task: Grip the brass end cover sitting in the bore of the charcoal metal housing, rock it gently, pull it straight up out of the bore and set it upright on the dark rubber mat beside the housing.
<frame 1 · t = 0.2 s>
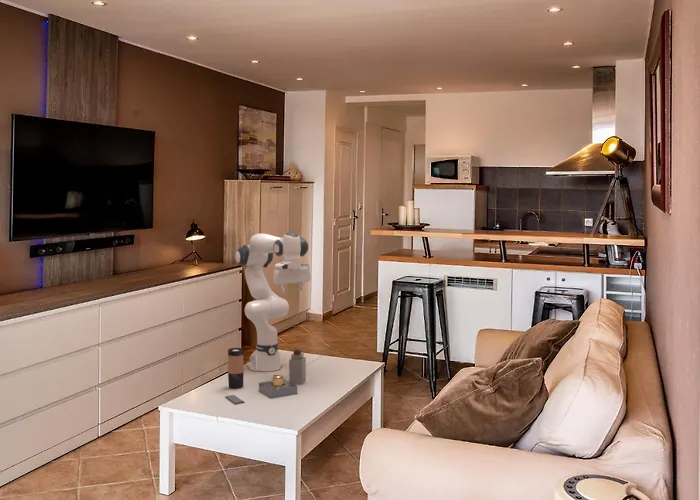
hand: (292, 291, 343), 47 cm above the table, tool pointing down, fingers open, 8 cm apart
housing: (277, 394, 326), on the table
mat: (242, 399, 319), on the table
travel mug: (236, 389, 335), on the table
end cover: (277, 392, 326), point 1 cm above the table, touching housing
grey square bottle: (297, 384, 343), on the table
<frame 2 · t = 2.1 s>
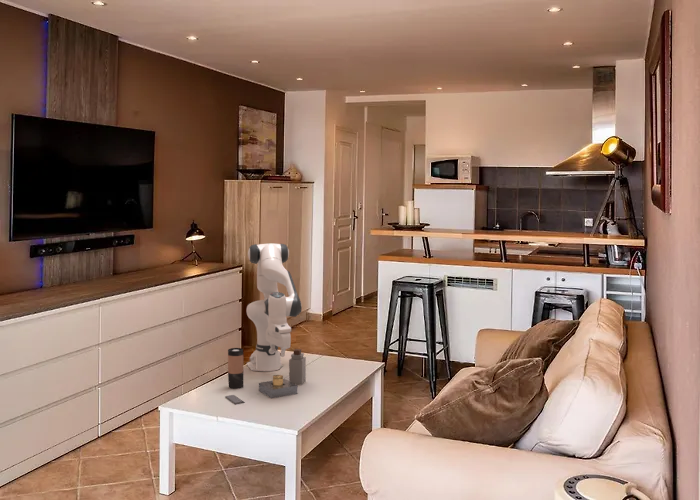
hand: (277, 354, 325), 20 cm above the table, tool pointing down, fingers open, 8 cm apart
nothing on the table moved.
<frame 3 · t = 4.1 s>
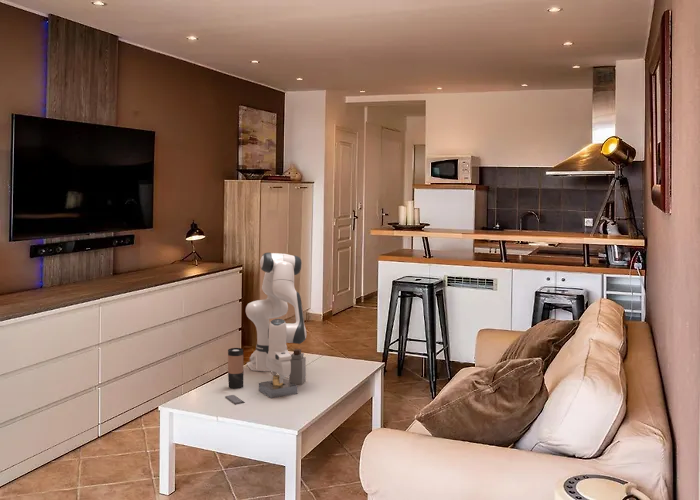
hand: (277, 380, 326), 7 cm above the table, tool pointing down, fingers closed on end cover, 5 cm apart
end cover: (277, 392, 326), point 1 cm above the table, touching gripper, housing
everything else where it was.
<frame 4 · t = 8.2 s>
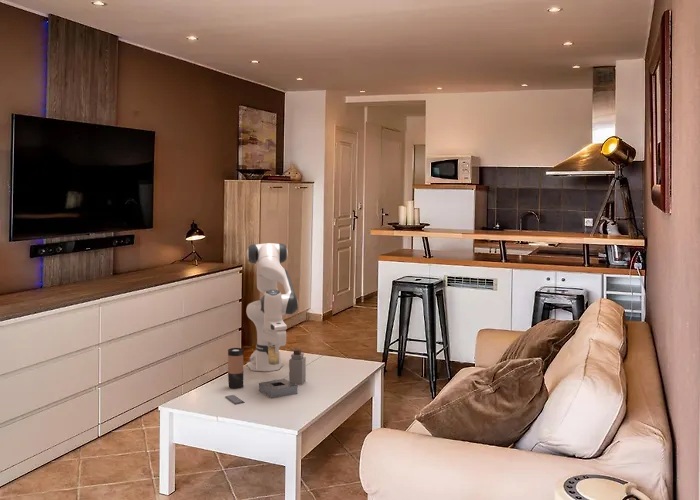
hand: (273, 351, 323), 21 cm above the table, tool pointing down, fingers closed on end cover, 5 cm apart
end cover: (273, 363, 324), point 16 cm above the table, touching gripper
everything else where it was.
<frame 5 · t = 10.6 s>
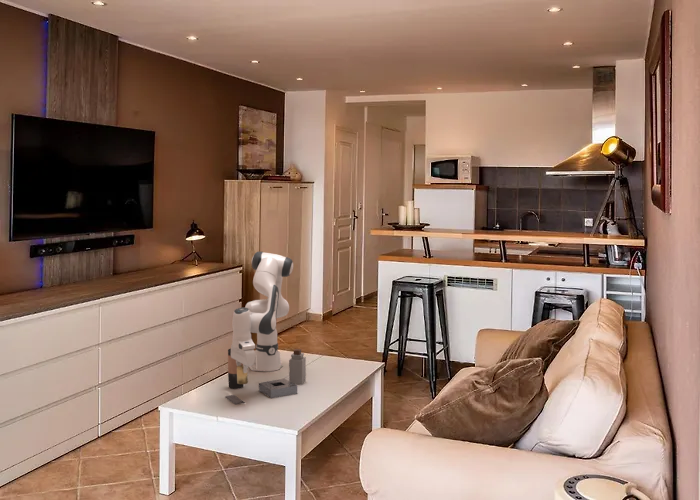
hand: (242, 371, 317), 14 cm above the table, tool pointing down, fingers closed on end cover, 5 cm apart
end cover: (242, 382, 318), point 8 cm above the table, touching gripper
everything else where it was.
when the fingers open (8 cm above the table, at t = 12.4 s): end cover drops 2 cm, resting on mat.
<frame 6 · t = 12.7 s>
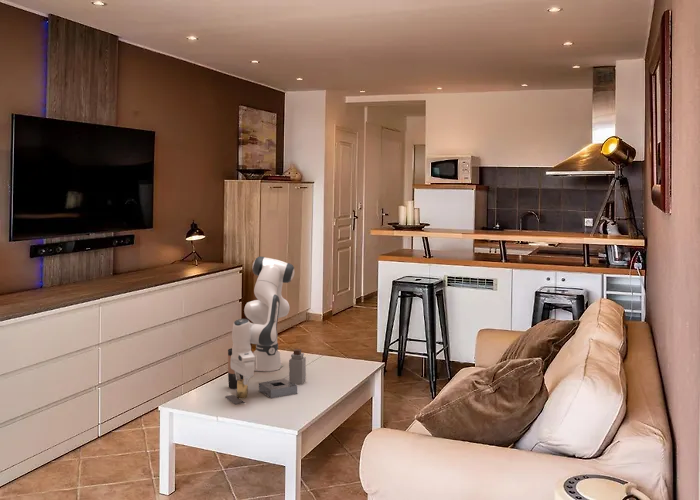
hand: (241, 382, 318), 8 cm above the table, tool pointing down, fingers open, 7 cm apart
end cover: (242, 397, 319), point 1 cm above the table, touching mat
everything else where it was.
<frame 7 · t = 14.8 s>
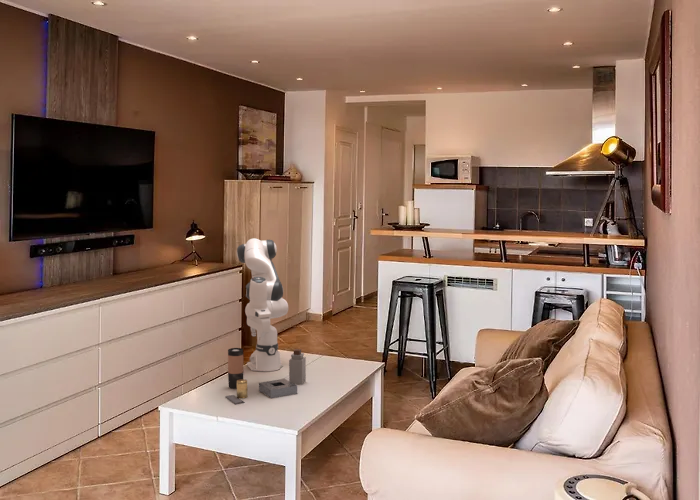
hand: (257, 338, 327), 27 cm above the table, tool pointing down, fingers open, 8 cm apart
nothing on the table moved.
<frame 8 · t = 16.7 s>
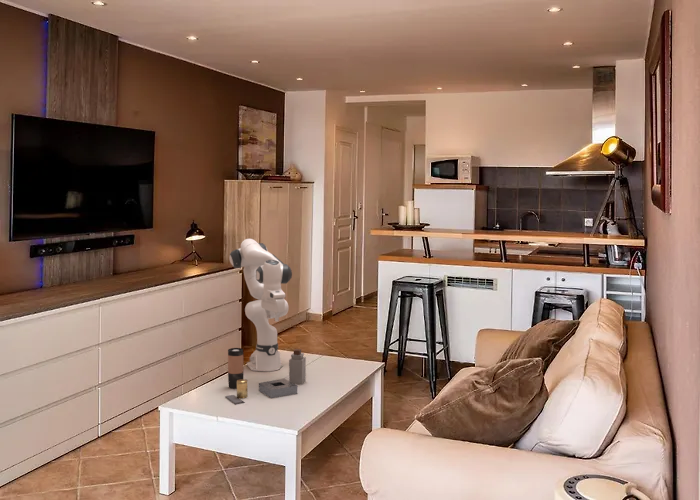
hand: (272, 319, 337), 34 cm above the table, tool pointing down, fingers open, 8 cm apart
nothing on the table moved.
at the end: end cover inside the target area on the mat (0.3 cm from its centre), point 0.8 cm above the mat's base; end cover tilted 0°; the gripper is holding nothing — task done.
